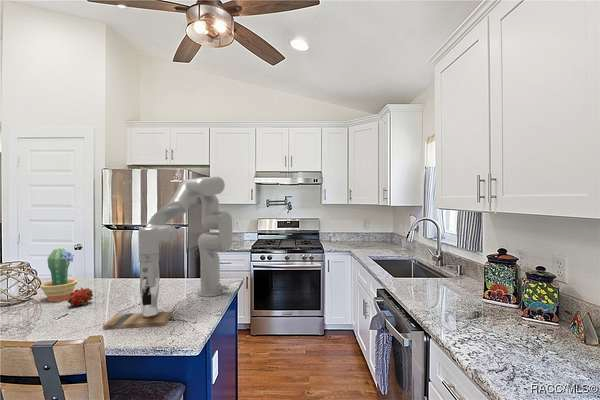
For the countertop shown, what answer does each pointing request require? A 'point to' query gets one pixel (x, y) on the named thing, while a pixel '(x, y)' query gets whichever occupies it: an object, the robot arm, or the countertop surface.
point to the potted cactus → (59, 276)
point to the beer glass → (151, 309)
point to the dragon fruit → (80, 297)
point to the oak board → (137, 320)
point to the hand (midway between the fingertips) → (149, 301)
